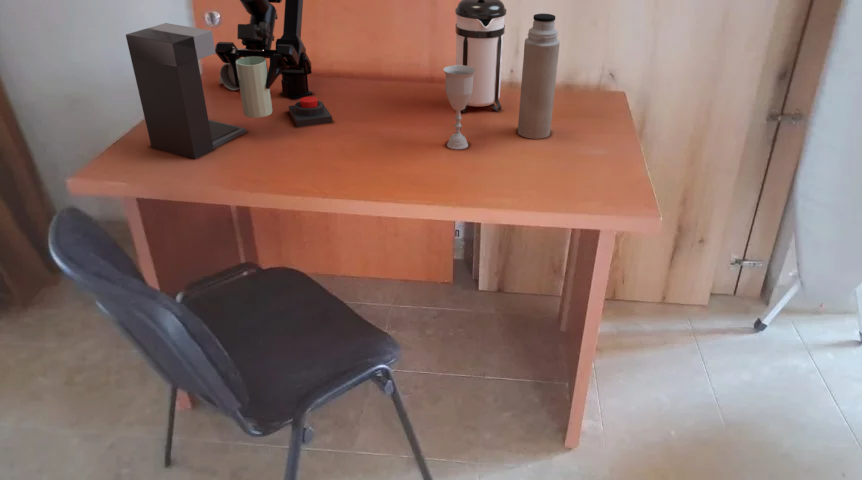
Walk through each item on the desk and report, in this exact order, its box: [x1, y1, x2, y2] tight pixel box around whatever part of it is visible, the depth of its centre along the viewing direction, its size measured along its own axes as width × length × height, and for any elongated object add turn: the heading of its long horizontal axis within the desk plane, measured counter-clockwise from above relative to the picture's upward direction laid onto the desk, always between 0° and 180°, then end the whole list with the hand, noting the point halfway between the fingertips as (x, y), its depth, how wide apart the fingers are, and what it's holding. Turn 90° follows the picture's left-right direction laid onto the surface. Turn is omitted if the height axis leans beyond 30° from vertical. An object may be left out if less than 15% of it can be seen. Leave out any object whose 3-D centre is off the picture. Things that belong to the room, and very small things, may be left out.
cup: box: [236, 56, 274, 119], centre depth 164 cm, size 7×7×12 cm
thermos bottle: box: [517, 13, 561, 140], centre depth 164 cm, size 8×8×28 cm
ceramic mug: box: [218, 63, 240, 91], centre depth 199 cm, size 11×8×8 cm
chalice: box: [442, 64, 476, 150], centre depth 161 cm, size 7×7×18 cm
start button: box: [299, 95, 319, 108], centre depth 178 cm, size 4×4×2 cm
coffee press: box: [454, 0, 507, 114], centre depth 181 cm, size 17×16×30 cm
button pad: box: [288, 99, 333, 128], centre depth 179 cm, size 11×9×4 cm
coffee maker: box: [125, 22, 248, 160], centre depth 161 cm, size 18×14×26 cm
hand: (252, 87), depth 163 cm, fingers closed on cup, 7 cm apart
